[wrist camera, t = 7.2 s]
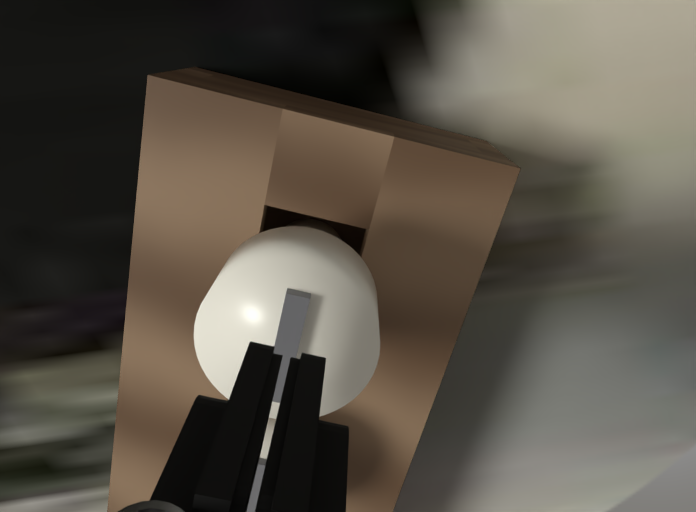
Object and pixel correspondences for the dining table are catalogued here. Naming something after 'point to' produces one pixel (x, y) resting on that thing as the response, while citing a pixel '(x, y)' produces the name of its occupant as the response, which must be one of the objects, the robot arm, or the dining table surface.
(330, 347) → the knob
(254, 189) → the knob mount
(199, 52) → the dining table surface
